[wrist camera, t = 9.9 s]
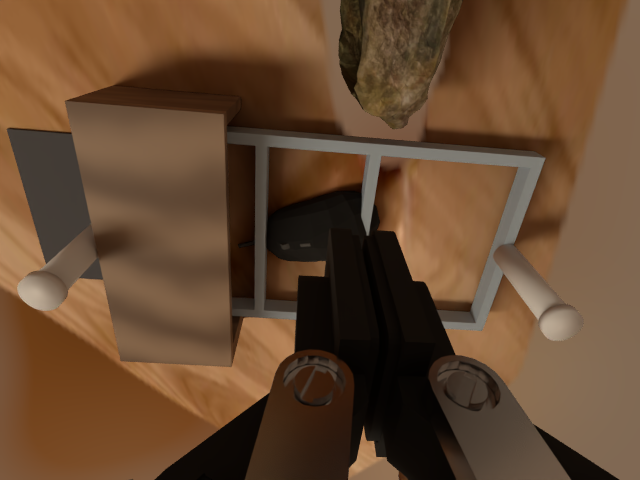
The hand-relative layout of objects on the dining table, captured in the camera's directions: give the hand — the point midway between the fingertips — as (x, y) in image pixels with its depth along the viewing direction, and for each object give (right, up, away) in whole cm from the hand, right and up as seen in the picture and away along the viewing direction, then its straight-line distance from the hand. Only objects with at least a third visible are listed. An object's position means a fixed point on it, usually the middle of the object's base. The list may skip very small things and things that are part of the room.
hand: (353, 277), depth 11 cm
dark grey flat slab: (-26, +4, +29) cm, 40 cm away
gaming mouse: (-2, +2, +31) cm, 31 cm away
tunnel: (-14, +3, +30) cm, 33 cm away
